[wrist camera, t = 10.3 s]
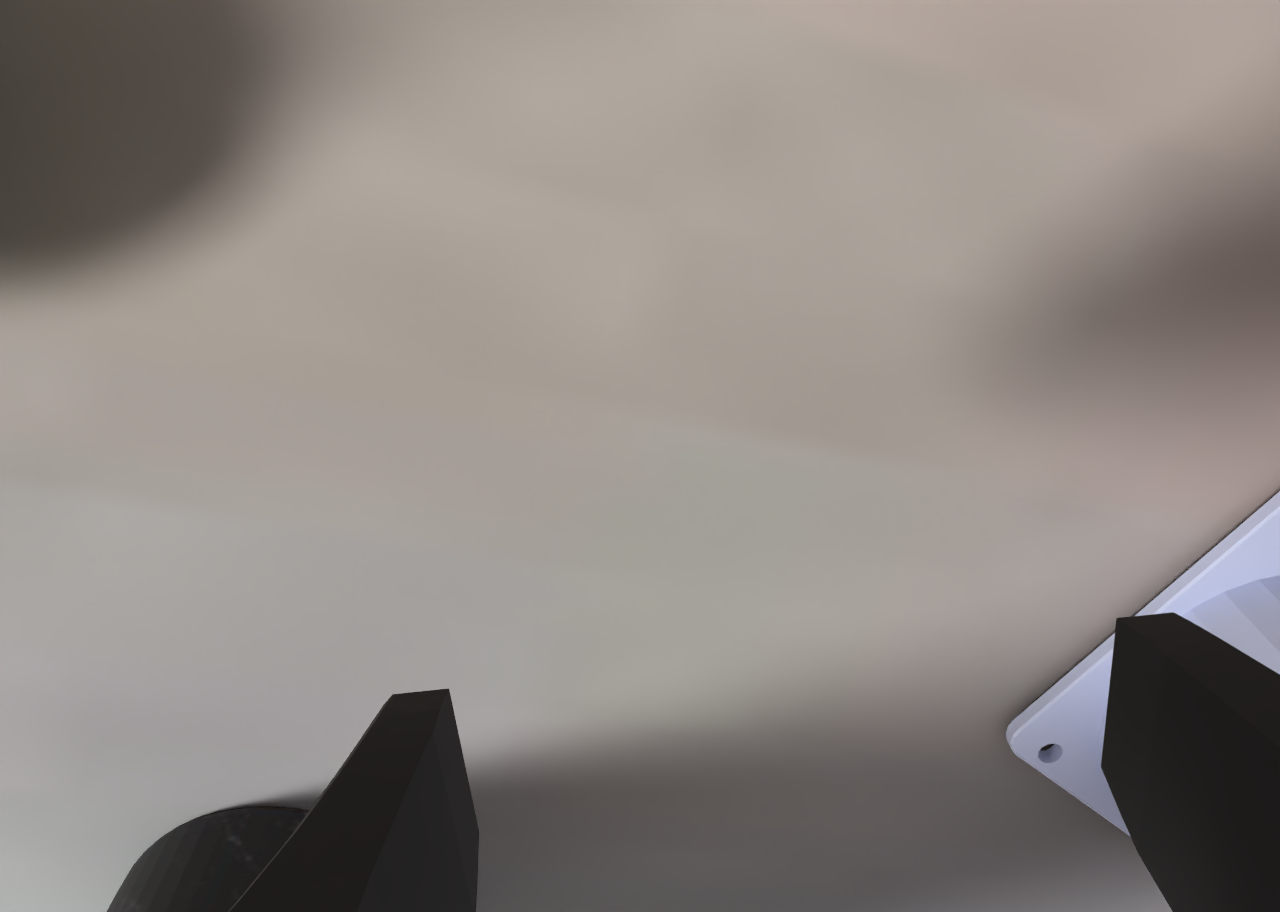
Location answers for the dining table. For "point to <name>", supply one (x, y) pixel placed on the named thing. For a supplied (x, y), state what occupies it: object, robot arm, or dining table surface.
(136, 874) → the travel mug
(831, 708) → the dining table surface
